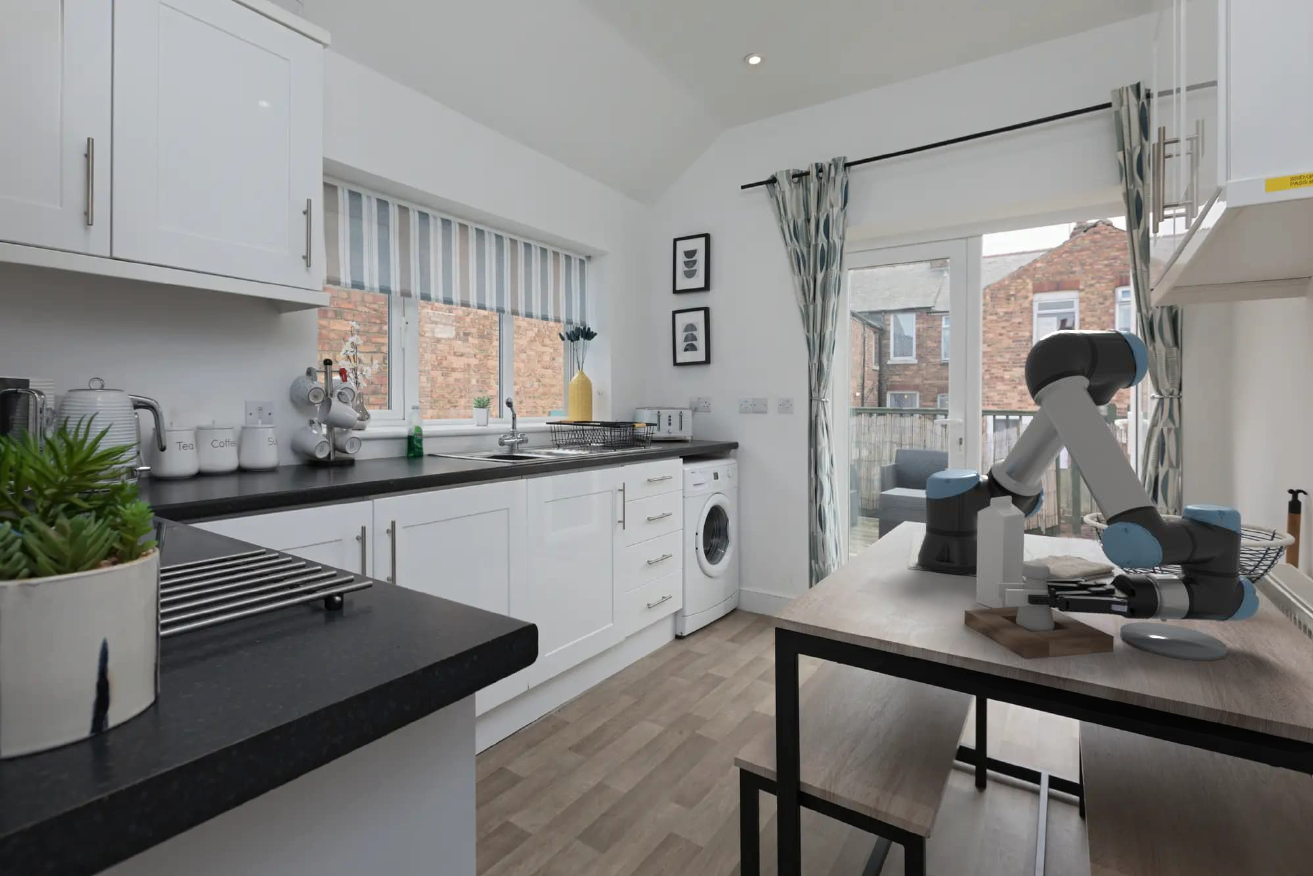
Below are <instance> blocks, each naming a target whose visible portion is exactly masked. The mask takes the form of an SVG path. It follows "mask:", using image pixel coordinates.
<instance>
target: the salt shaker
mask: <svg viewBox="0 0 1313 876" xmlns="http://www.w3.org/2000/svg"><path fill="white" fill-rule="evenodd" d="M1022 575H1023V578H1024V577H1025V580H1024V583H1025V584H1024V588H1023V589H1032V590H1047V591H1048V587H1047V581H1046V579H1049V577H1050V568H1049V567H1048V566H1047V565H1045V564H1042V563H1037V562H1028V563H1025V564H1024V565H1023V566H1022ZM1048 595H1049V592H1048ZM1052 609H1053V608H1051V607H1049V605H1047V606H1043V605H1039V606H1019V610H1018V614H1017V618H1016V624H1017V625H1018V626H1020V627H1022V628H1024V629H1026V630H1028V631H1030V632H1039V631H1051V630H1053V628H1054V620H1053V615H1052Z"/></svg>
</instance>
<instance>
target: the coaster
mask: <svg viewBox="0 0 1313 876" xmlns="http://www.w3.org/2000/svg"><path fill="white" fill-rule="evenodd" d="M1119 636H1120V638H1121V639H1122V640H1123V641H1124V642H1125V643H1128V644H1129V645H1131V646H1133V647H1134V648H1138V649H1140V650H1143V651H1147V652H1150V653H1153V654H1156V655H1160V656H1165V657H1168V658H1169V657H1170V658H1174V659H1179V660H1187V661H1188V660H1189V661H1201V662H1202V661H1203V662H1204V661H1206V662H1209V661H1217V660H1221V659H1224V658H1225V657H1226V656H1227V649H1228V647H1227V645H1226V643H1224V642H1223V641H1222V640H1220V639H1218V638H1216V637H1214V636H1212V635H1210V634H1207V633H1204V632H1201V631H1198V630H1194V629H1191V628H1187V627H1183V626H1178V625H1173V624H1167V623H1159V622H1146V621H1145V622H1142V621H1139V622H1138V621H1137V622H1130V623H1125V624H1122V626H1120V631H1119Z"/></svg>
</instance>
